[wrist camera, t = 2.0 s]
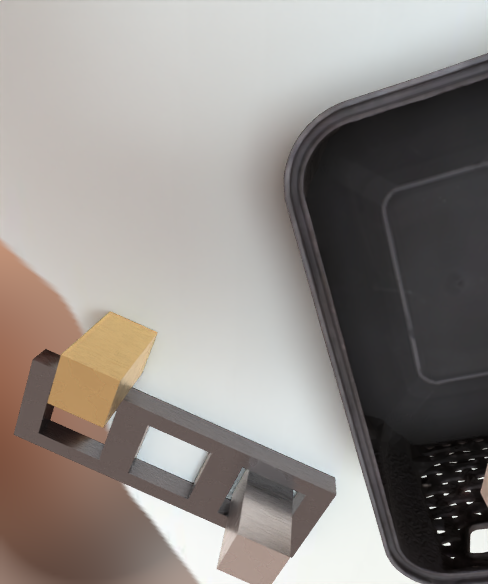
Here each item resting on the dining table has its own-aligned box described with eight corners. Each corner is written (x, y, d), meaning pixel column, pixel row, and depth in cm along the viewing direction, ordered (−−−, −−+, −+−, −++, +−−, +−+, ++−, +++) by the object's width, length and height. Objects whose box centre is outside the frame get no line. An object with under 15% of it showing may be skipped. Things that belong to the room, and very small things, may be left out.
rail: (26, 421, 43) (13, 434, 41) (45, 348, 40) (32, 359, 38) (292, 539, 44) (291, 557, 42) (334, 477, 40) (336, 494, 38)
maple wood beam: (97, 352, 39) (47, 402, 32) (110, 311, 37) (61, 354, 30) (142, 372, 39) (103, 427, 32) (157, 332, 37) (120, 381, 30)
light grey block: (232, 493, 43) (216, 568, 35) (250, 461, 41) (237, 534, 34) (274, 511, 43) (266, 590, 35) (293, 481, 41) (290, 557, 34)
